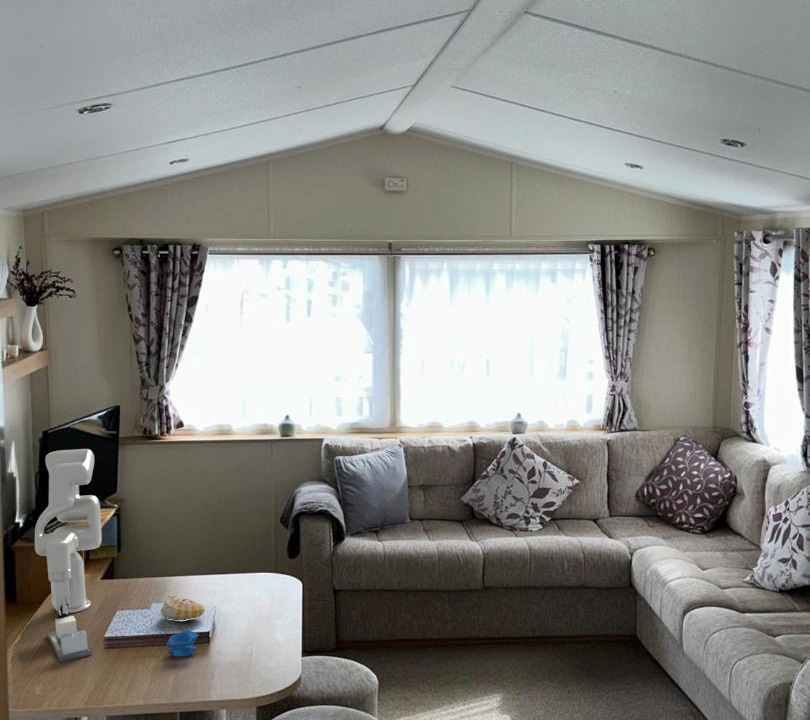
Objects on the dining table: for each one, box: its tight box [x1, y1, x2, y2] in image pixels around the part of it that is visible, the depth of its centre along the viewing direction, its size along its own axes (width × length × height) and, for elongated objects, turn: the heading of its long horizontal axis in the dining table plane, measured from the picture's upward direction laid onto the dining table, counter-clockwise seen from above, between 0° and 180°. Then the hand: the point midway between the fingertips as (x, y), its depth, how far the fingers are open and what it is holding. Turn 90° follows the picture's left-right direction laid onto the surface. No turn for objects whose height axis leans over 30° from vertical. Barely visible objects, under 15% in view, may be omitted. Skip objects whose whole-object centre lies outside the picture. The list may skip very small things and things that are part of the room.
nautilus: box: [160, 594, 205, 620], centre depth 348 cm, size 8×22×15 cm
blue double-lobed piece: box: [165, 629, 200, 657], centre depth 316 cm, size 7×9×12 cm
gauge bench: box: [47, 626, 93, 663], centre depth 326 cm, size 24×10×8 cm, turn 30°
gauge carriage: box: [51, 615, 78, 638], centre depth 329 cm, size 5×8×5 cm, turn 120°
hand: (63, 624), depth 333 cm, fingers closed
